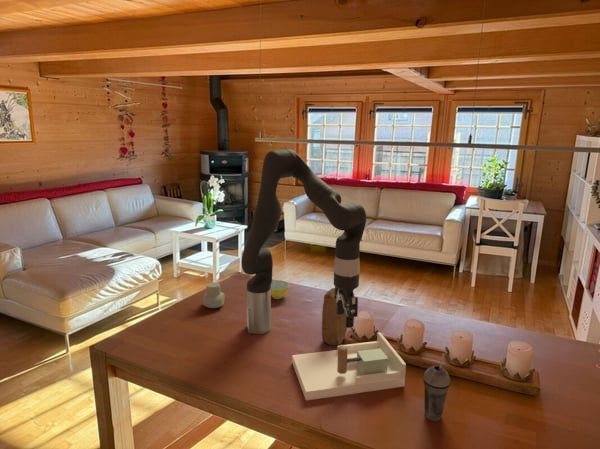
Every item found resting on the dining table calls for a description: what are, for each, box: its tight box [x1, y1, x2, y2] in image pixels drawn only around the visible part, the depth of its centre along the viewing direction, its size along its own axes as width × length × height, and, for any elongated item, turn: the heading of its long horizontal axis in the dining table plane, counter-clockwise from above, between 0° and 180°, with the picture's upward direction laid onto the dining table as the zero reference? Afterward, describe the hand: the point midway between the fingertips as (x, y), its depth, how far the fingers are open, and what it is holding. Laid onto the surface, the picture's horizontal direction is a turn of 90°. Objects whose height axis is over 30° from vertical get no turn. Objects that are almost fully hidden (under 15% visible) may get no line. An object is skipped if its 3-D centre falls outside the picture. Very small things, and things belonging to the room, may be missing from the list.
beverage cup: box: [422, 352, 451, 422], centre depth 118 cm, size 7×7×20 cm
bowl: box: [271, 279, 290, 300], centre depth 196 cm, size 11×12×6 cm
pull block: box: [337, 345, 388, 375], centre depth 133 cm, size 16×6×10 cm, turn 103°
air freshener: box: [202, 281, 226, 309], centre depth 186 cm, size 11×8×10 cm
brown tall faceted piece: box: [321, 287, 348, 346], centre depth 158 cm, size 11×8×20 cm
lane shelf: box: [291, 332, 407, 401], centre depth 138 cm, size 32×20×8 cm, turn 103°
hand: (344, 320), depth 128 cm, fingers open, 8 cm apart
